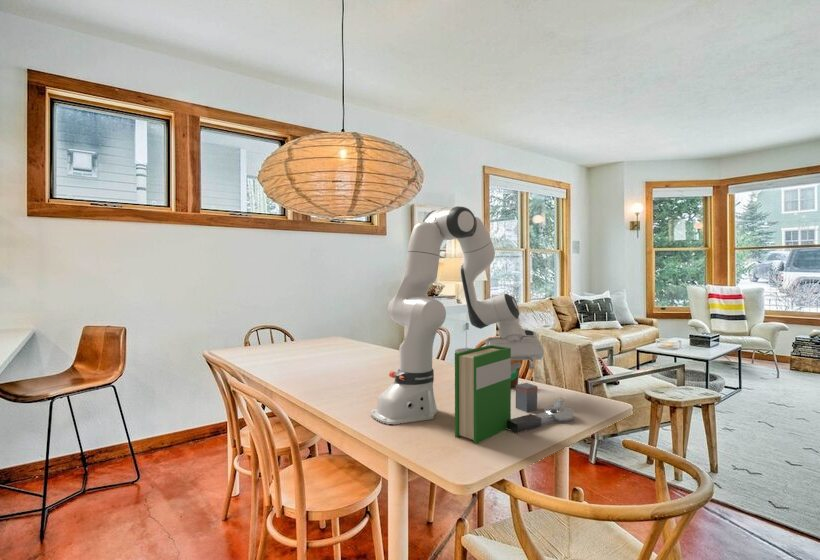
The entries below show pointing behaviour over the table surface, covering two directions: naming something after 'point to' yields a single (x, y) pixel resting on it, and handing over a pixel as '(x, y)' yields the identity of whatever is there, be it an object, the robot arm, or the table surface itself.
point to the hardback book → (482, 392)
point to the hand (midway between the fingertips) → (519, 368)
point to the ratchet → (542, 418)
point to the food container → (514, 374)
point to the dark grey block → (526, 397)
